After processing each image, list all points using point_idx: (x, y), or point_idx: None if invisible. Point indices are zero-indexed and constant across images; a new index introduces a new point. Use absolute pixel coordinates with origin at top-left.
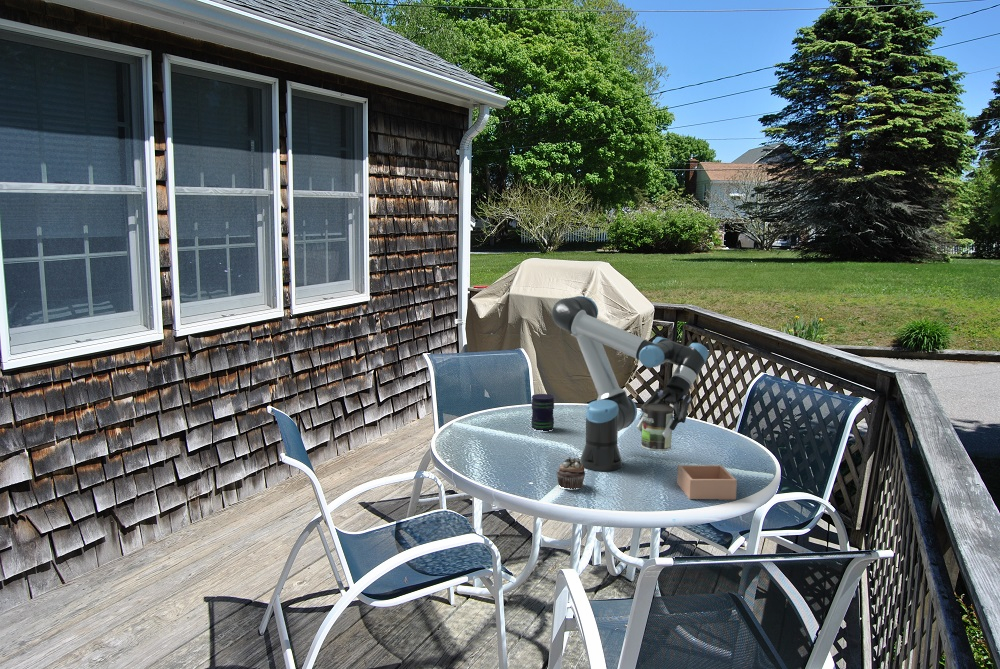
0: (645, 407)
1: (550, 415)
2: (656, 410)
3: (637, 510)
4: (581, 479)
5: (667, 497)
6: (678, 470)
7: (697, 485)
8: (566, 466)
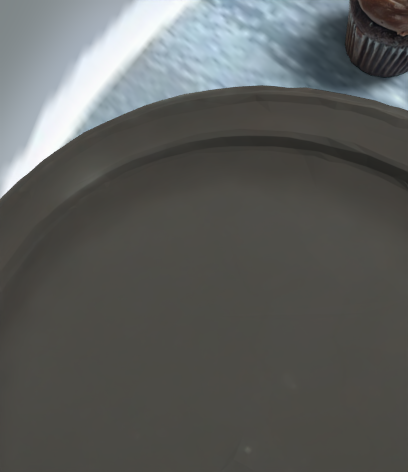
0: (396, 149)
1: None
2: (71, 173)
3: (118, 80)
4: (351, 26)
5: None
6: None
7: None
8: None
